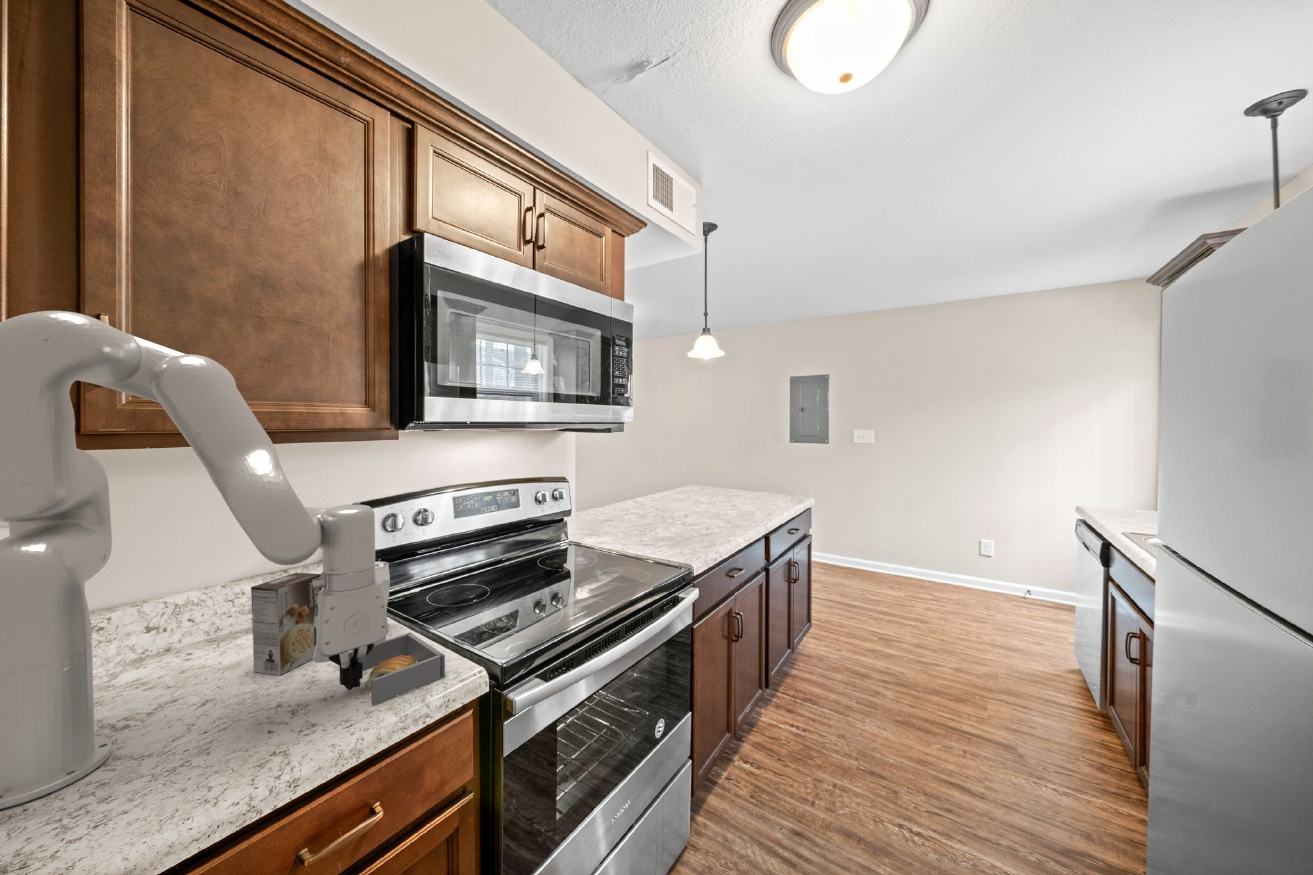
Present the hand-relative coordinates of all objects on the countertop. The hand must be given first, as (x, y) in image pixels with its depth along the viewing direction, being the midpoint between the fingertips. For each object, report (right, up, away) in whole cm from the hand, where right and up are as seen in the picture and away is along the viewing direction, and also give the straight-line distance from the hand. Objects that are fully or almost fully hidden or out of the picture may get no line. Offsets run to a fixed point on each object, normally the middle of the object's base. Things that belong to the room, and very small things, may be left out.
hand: (351, 685), depth 82 cm
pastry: (+5, -1, +4) cm, 6 cm away
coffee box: (-18, -1, +10) cm, 21 cm away
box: (+4, -1, +5) cm, 6 cm away
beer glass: (-10, -1, +23) cm, 25 cm away
